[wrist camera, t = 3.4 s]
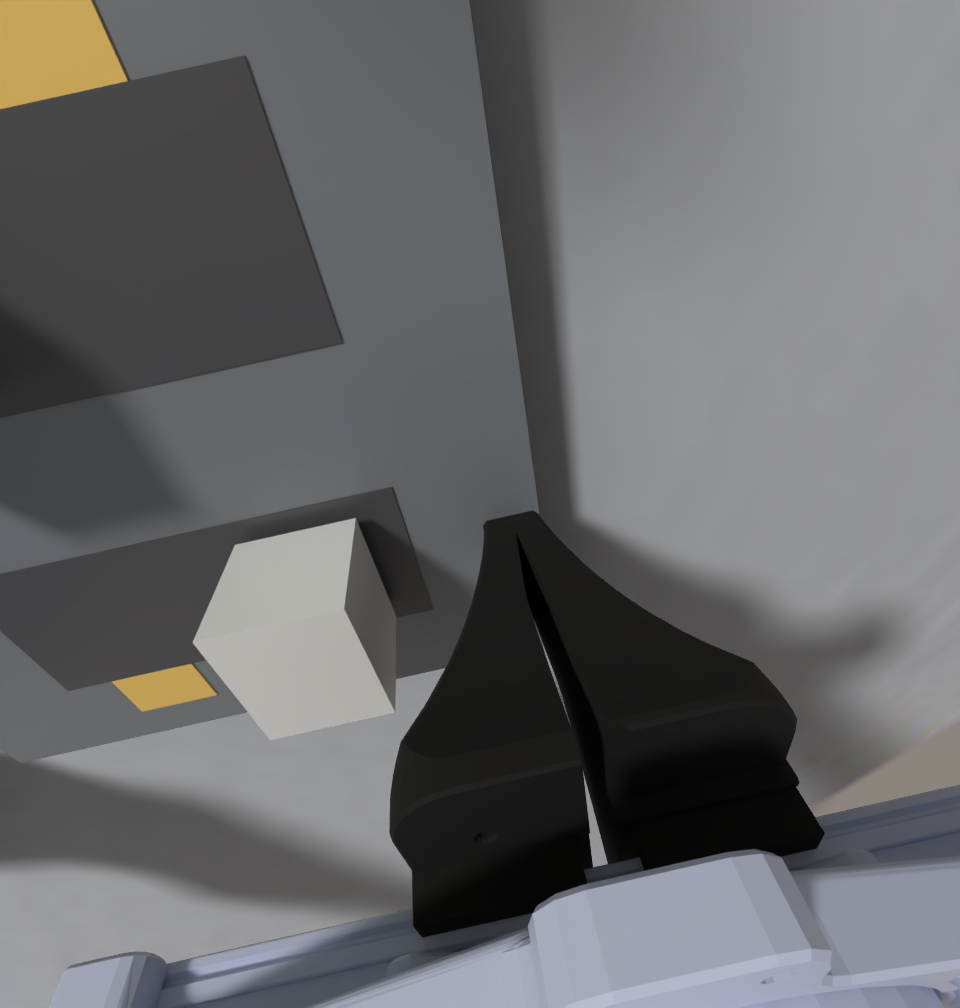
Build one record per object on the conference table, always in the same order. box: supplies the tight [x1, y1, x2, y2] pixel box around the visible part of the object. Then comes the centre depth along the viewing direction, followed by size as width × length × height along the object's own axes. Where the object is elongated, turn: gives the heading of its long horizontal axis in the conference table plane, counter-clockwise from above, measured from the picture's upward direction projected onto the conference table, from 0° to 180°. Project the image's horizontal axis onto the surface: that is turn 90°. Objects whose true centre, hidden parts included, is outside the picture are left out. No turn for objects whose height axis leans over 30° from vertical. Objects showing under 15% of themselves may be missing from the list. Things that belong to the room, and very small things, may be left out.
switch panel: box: [0, 0, 544, 763], centre depth 12 cm, size 18×18×2 cm
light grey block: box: [193, 518, 396, 740], centre depth 12 cm, size 3×4×3 cm
